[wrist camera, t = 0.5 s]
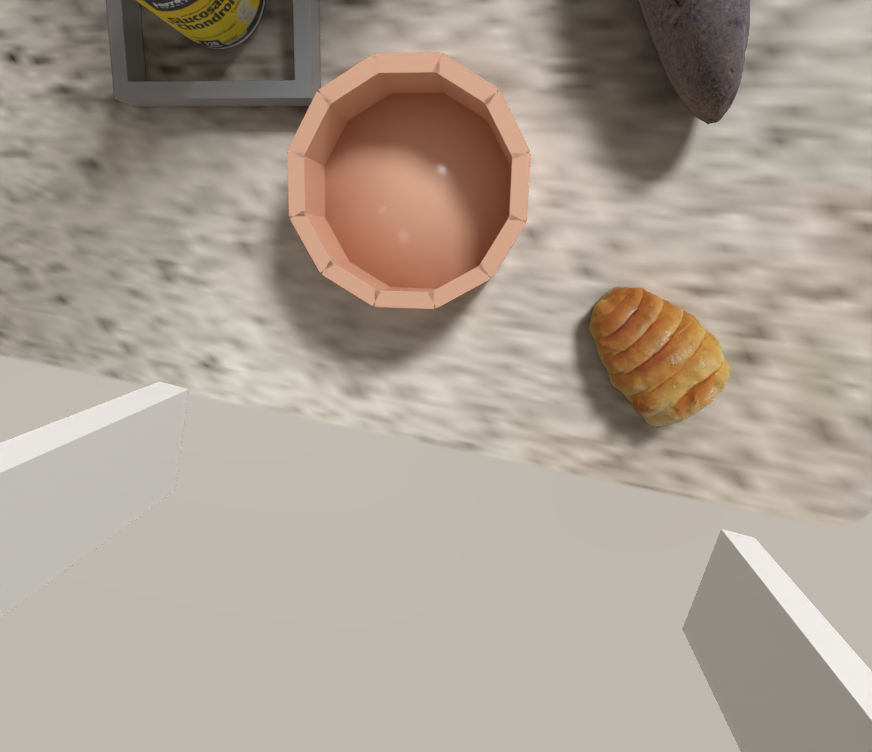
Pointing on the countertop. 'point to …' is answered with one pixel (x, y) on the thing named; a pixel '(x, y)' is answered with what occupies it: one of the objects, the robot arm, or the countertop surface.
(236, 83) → the gray square frame
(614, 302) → the pastry
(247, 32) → the pill bottle
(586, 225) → the countertop surface
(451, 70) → the bowl
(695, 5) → the perforated stone tool
